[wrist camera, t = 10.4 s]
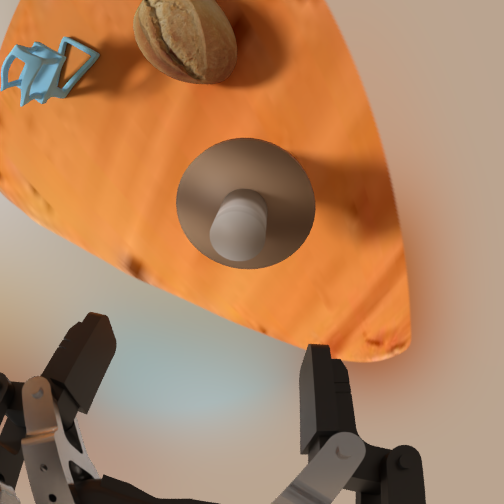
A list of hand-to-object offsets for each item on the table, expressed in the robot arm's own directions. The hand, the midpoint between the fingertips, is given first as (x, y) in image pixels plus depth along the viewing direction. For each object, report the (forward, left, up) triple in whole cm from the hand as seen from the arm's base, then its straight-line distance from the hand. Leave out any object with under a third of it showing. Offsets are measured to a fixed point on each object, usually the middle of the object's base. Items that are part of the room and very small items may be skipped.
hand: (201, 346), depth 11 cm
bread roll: (-16, -9, -28) cm, 34 cm away
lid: (0, 0, -15) cm, 15 cm away
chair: (-14, -27, -28) cm, 41 cm away
